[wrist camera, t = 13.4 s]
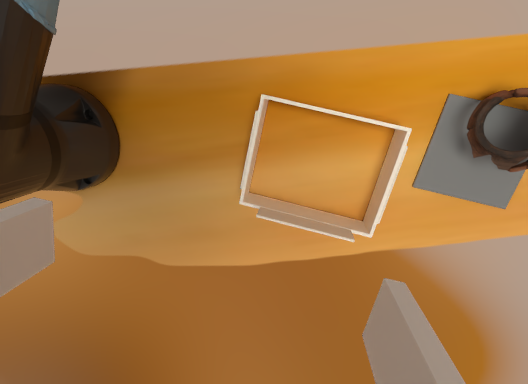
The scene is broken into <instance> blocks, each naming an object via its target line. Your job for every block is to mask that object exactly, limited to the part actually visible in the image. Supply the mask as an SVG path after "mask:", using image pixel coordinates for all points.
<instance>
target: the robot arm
mask: <svg viewBox="0 0 528 384" xmlns="http://www.w3.org/2000/svg"><path fill="white" fill-rule="evenodd" d="M58 5H59V0H0V203H3V202H6V201H9V200H12V199H15V198H18V197H21V196H24V195H27V194H30V193H33V192H36V191H39V190H54V191H78V190H83V189H86V188H89V187H92V186H95V185H97V184H99V183H101V182H103V181H104V180H105V179H106V178H107V177H108V176H109V175H110V174H111V173H112V171H113V169H114V168H115V165H116V163H117V159H118V154H119V140H118V135H117V131H116V128H115V125H114V123H113V120H112V118H111V117H110V115H109V113H108V112H107V110H106V109H105V108H104V106H103V105H102V104H101V103H100V102H99V101H98V100H97V99H96V98H95V97H93V96H92V95H91V94H89V93H88V92H86V91H84V90H82V89H80V88H77V87H74V86H70V85H62V84H42V85H40V83H41V79H42V75H43V71H44V67H45V63H46V60H47V56H48V52H49V48H50V45H51V41H52V38H53V34H54V35H55V34H56V28H55V22H56V16H57V10H58ZM54 261H55V254H54V229H53V204H52V201H47V200H43V199H39V198H35V197H34V198H31V199H28V200H25V201H23V202H20V203H17V204H14V205H11V206H8V207H6V208H3V209H0V297H1V296H3V295H4V294H6V293H7V292H9V291H11V290H12V289H14V288H15V287H17V286H18V285H20V284H21V283H23V282H24V281H26V280H27V279H29V278H30V277H32V276H34V275H35V274H36V273H38V272H40V271H41V270H43V269H44V268H46V267H47V266H49V265H50V264H52V263H53V262H54ZM362 336H363V340H364V343H365V347H366V351H367V354H368V358H369V361H370V365H371V368H372V372H373V375H374V379H375V382H376V384H465V382H464V380H463V379H462V377H461V375H460V374H459V372H458V370H457V369H456V367H455V365H454V364H453V362H452V360H451V359H450V357H449V355H448V354H447V352H446V350H445V349H444V347H443V345H442V344H441V342H440V341H439V339H438V337H437V335H436V334H435V332H434V331H433V329H432V327H431V325H430V324H429V322H428V320H427V319H426V317H425V316H424V314H423V312H422V311H421V309H420V307H419V306H418V304H417V302H416V301H415V299H414V297H413V296H412V294H411V292H410V291H409V289H408V287H407V286H406V284H405V283H404V282H399V281H395V280H390V279H386V278H384V280H383V283H382V286H381V288H380V290H379V293H378V296H377V298H376V301H375V304H374V306H373V309H372V311H371V314H370V316H369V319H368V322H367V324H366V327H365V330H364V332H363V335H362Z"/></svg>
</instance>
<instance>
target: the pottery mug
mask: <svg viewBox="0 0 528 384" xmlns="http://www.w3.org/2000/svg"><path fill="white" fill-rule="evenodd" d="M511 97H516V98H517V97H528V88H519V89H515V90H511V91H506V90H503V91H500V92H497V93H495V94H493V95H491V96H489V97H487V98H485V99H484V100H482V101H481V102H480V103H479V104H478V105H477V107H476V108H475V110H474V111H473V113H472V114H471V116H470V118H469V121H468V124H467V129H468V130H469V131H468V133H467V137H468V140H469V142H470V145H471V148H472V154H473V157H474V158H476V157H479V156H484V155H491V160H492V162H493V163H494V164H495V165H497V168H498V169H501V170H507V171H509V172H518V171H522V170H525V169H528V160H527V161H525V162H523V163H521V164H518V163H519V162H520V161H522V160H524V159H525V158H527V157H528V149H526V150H521V151H509V150H504V149H500V148H498V147H495V146H494V145H492V144H491V143H490V142H489V141H488V139H487V138H486V136H485V134H484V122H485V119H486V117H487V115H488V113H489V112H490V111H491V110H492V109H493V108H494V107H495V106H496V105H498V104H499V103H501V102H502V101H503V100H504V99H507V98H511ZM516 164H518V165H516Z"/></svg>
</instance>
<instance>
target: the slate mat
mask: <svg viewBox="0 0 528 384" xmlns="http://www.w3.org/2000/svg"><path fill="white" fill-rule="evenodd" d="M480 102H481V101H480V100H476V99H471V98H467V97H462V96H457V95H453V94H449V95H448V97H447V100H446V102H445V105H444V107H443V110H442V112H441V115H440V118H439V120H438V123H437V125H436V128H435V130H434V133H433V135H432V138H431V140H430V143H429V145H428V148H427V150H426V153H425V155H424V158H423V160H422V163H421V165H420V168H419V170H418V173H417V176H416V178H415V181H414V183H413V186H412V187H415V188H420V189H424V190H428V191H432V192H436V193H440V194H444V195H448V196H453V197H457V198H461V199H465V200H469V201H473V202H477V203H481V204H486V205H490V206H494V207H498V208H502V209H506V207H507V205H508V203H509V201H510V199H511V197H512V195H513V193H514V191H515V189H516V187H517V185H518V183H519V181H520V179H521V178H522V176H523V174H524V172H525V170H526V169H525V170H522V171H518V172H509V171H507V170H501V169H498V168H497V165H495V164H494V163H493V162H492V160H491V155H484V156H479V157H476V158H474V157H473V154H472V148H471V145H470V142H469V140H468V137H467V133H468V131H469V130H468V129H467V124H468V121H469V118H470V116H471V114H472V113H473V111H474V110H475V108H476V107H477V105H478V104H479V103H480ZM484 134H485V136H486V138H487V139H488V141H489V142H490V143H491V144H492V145H494V146H495V147H498V148H500V149H504V150H509V151H521V150H526V149H528V111H526V110H521V109H517V108H512V107H507V106H503V105H496V106H495V107H494V108H493V109H492V110H491V111H490V112H489V113H488V115H487V117H486V119H485V122H484ZM527 160H528V157H527V158H525V159H524V160H522V161H520V162H519V163H518V164H521V163H523V162H525V161H527ZM518 164H516V165H518Z"/></svg>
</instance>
